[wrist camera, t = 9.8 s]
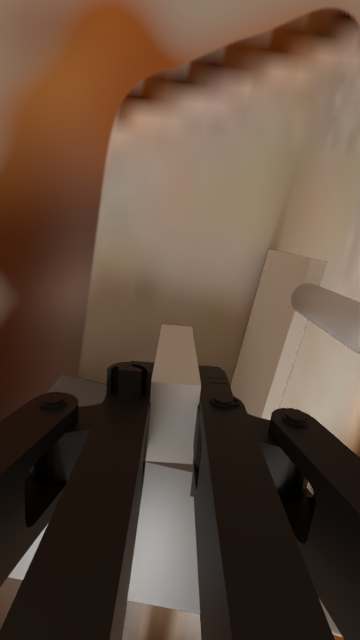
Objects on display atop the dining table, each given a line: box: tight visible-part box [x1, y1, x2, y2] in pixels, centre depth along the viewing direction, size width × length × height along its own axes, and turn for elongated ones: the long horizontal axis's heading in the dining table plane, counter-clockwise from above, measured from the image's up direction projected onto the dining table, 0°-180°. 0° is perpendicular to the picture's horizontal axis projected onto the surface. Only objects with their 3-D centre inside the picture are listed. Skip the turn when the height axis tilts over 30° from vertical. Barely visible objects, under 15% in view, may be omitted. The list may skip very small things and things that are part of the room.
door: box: [230, 249, 360, 420], centre depth 24 cm, size 2×17×17 cm, turn 168°
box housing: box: [8, 374, 200, 614], centre depth 31 cm, size 14×18×10 cm
